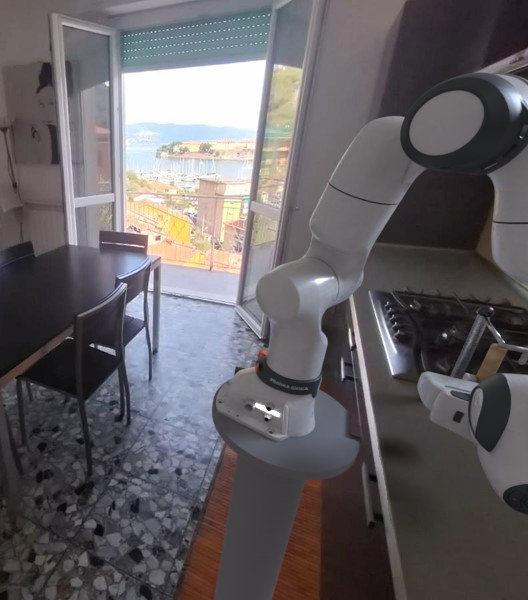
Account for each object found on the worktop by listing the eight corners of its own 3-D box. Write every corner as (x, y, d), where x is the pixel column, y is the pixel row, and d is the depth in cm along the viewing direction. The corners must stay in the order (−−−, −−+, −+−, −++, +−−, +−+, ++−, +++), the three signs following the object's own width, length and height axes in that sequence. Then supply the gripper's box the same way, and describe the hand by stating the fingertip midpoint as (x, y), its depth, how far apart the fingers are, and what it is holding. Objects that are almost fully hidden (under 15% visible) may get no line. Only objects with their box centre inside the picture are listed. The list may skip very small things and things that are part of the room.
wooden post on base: (450, 421, 70) (486, 346, 63) (445, 406, 74) (479, 333, 67) (494, 434, 67) (538, 356, 60) (487, 418, 71) (527, 342, 64)
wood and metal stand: (433, 427, 79) (479, 327, 69) (423, 388, 91) (461, 298, 81) (481, 441, 76) (537, 337, 65) (464, 399, 88) (509, 305, 77)
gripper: (610, 435, 51) (566, 383, 62) (431, 389, 61) (420, 351, 71) (586, 466, 54) (548, 411, 65) (419, 418, 63) (410, 376, 74)
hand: (480, 379), depth 68 cm, fingers closed on wooden post on base, 2 cm apart
